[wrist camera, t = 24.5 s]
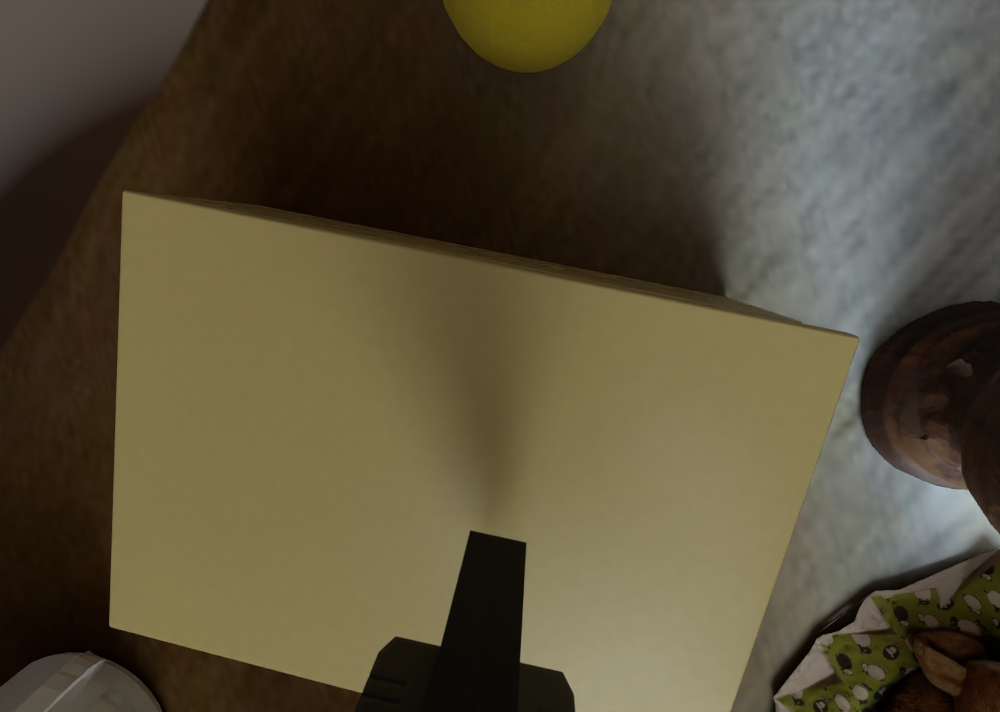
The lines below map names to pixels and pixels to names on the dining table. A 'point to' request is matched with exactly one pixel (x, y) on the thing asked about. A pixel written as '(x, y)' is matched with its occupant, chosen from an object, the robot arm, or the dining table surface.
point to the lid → (448, 455)
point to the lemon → (527, 29)
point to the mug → (76, 687)
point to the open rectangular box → (491, 256)
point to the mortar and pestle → (941, 401)
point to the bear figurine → (910, 649)
